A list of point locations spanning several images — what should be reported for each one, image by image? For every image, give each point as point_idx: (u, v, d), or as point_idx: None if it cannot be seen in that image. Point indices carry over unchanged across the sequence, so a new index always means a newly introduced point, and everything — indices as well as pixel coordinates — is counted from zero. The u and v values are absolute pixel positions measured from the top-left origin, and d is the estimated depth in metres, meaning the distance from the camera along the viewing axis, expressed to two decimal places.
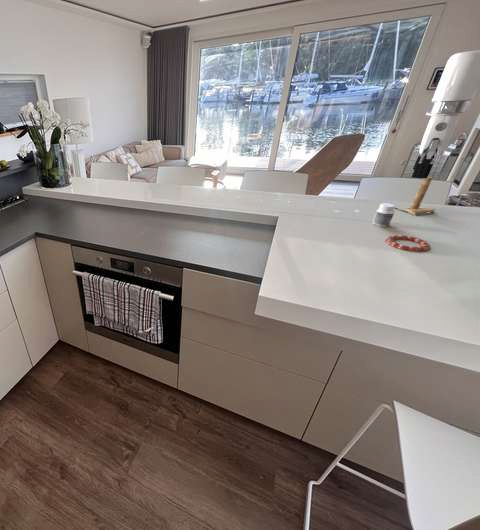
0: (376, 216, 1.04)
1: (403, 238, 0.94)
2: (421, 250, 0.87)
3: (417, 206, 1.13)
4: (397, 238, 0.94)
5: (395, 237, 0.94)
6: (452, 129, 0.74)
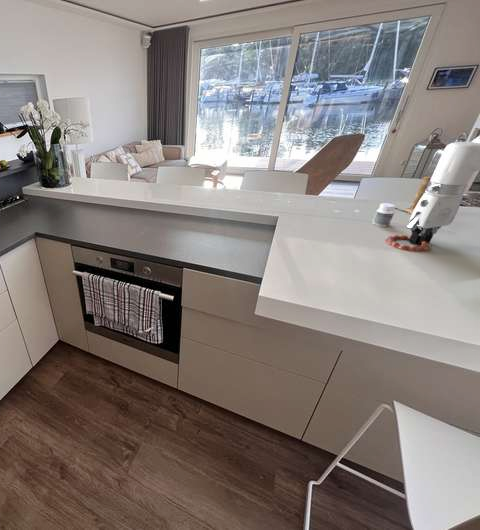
0: (376, 216, 1.04)
1: (403, 238, 0.94)
2: (421, 250, 0.87)
3: None
4: (397, 238, 0.94)
5: (395, 237, 0.94)
6: (432, 207, 0.83)
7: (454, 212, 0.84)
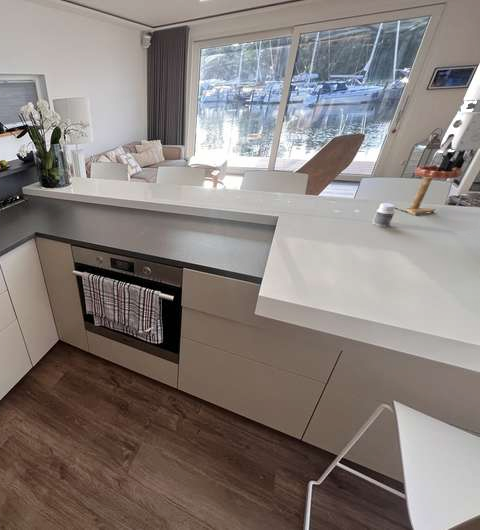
0: (376, 216, 1.04)
1: (433, 167, 0.92)
2: (454, 174, 0.85)
3: (417, 206, 1.13)
4: (426, 168, 0.92)
5: (424, 167, 0.92)
6: (466, 126, 0.81)
7: None
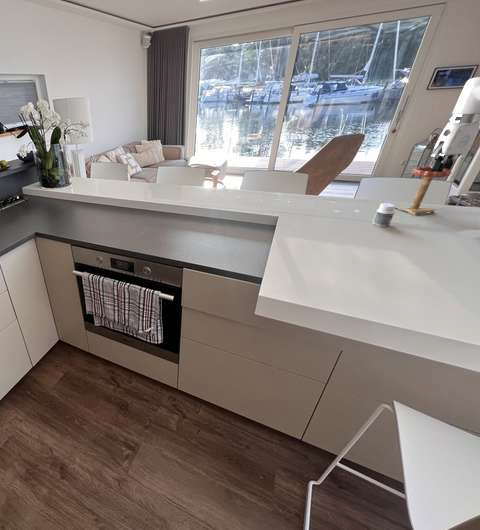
0: (376, 216, 1.04)
1: (427, 168, 1.10)
2: (444, 174, 1.03)
3: (417, 206, 1.13)
4: (422, 168, 1.10)
5: (420, 168, 1.10)
6: (454, 135, 0.99)
7: (472, 140, 1.00)
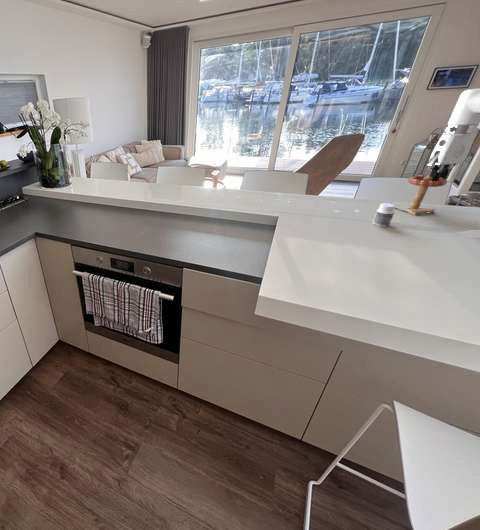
0: (376, 216, 1.04)
1: (423, 177, 1.11)
2: (439, 183, 1.04)
3: (417, 206, 1.13)
4: (418, 177, 1.12)
5: (416, 176, 1.12)
6: (449, 145, 1.00)
7: (467, 150, 1.02)
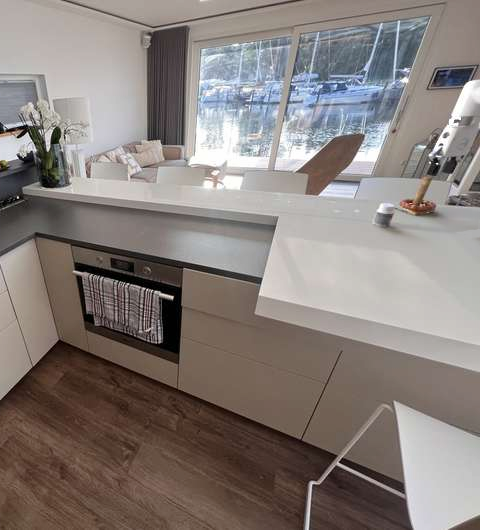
0: (376, 216, 1.04)
1: None
2: (429, 208, 1.09)
3: None
4: (409, 201, 1.16)
5: (407, 200, 1.16)
6: (453, 137, 0.99)
7: (471, 142, 1.01)
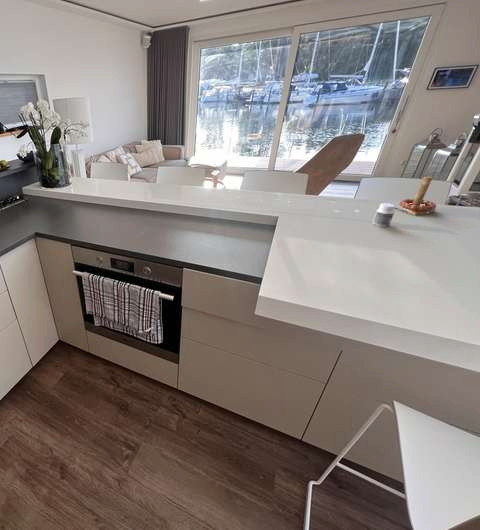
0: (376, 216, 1.04)
1: None
2: (429, 208, 1.09)
3: None
4: (409, 201, 1.16)
5: (407, 200, 1.16)
6: None
7: None
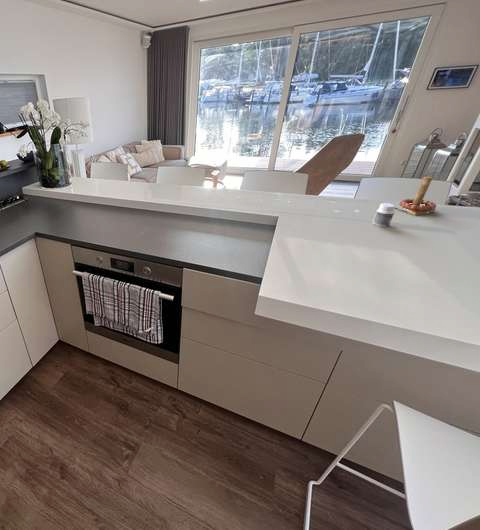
0: (376, 216, 1.04)
1: None
2: (429, 208, 1.09)
3: None
4: (409, 201, 1.16)
5: (407, 200, 1.16)
6: None
7: None
